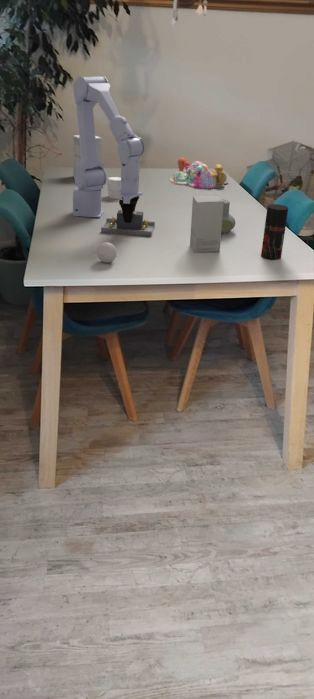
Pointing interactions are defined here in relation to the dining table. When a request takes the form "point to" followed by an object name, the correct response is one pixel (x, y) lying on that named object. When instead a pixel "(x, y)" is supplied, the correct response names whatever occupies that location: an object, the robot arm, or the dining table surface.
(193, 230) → the skincare box
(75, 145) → the supplement box
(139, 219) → the block
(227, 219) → the air freshener
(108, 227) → the tray
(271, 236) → the deodorant
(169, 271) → the dining table surface
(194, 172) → the candy landscape model
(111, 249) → the white sphere
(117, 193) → the white tapered cup
